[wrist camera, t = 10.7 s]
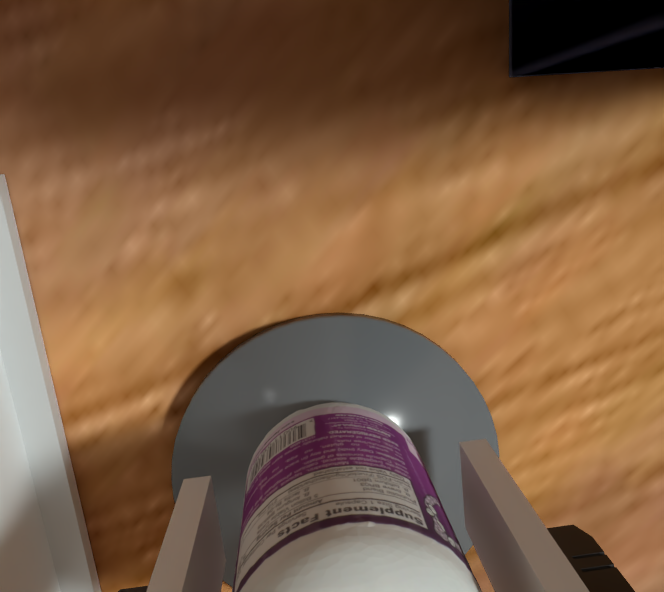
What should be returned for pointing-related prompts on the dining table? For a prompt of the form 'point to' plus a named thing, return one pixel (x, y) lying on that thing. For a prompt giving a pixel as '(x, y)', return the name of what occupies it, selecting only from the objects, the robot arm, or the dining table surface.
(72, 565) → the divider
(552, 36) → the vase
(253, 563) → the pill bottle
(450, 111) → the dining table surface
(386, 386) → the coaster
